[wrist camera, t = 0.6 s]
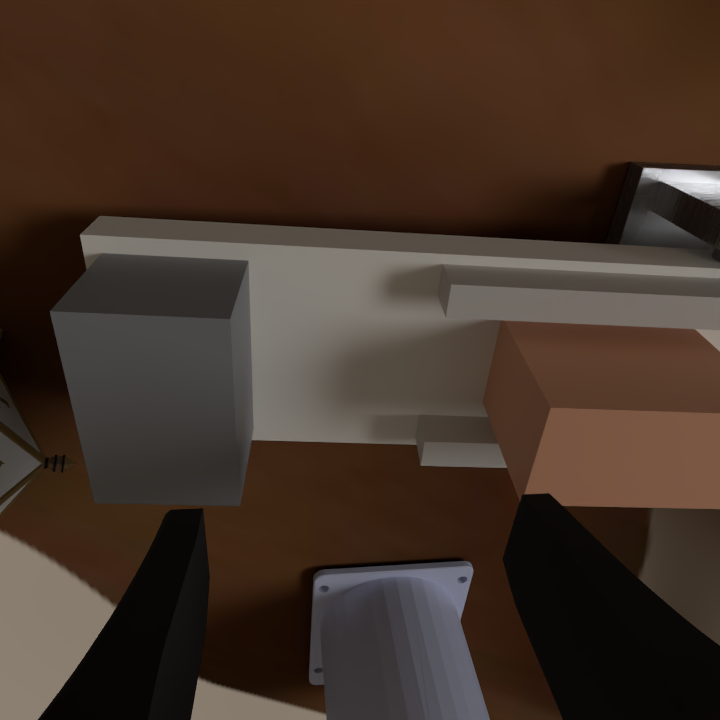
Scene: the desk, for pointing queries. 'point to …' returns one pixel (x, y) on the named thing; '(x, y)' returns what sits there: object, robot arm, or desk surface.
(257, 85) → the desk surface
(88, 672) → the robot arm
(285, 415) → the beam
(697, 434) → the block
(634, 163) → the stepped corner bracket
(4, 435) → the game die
